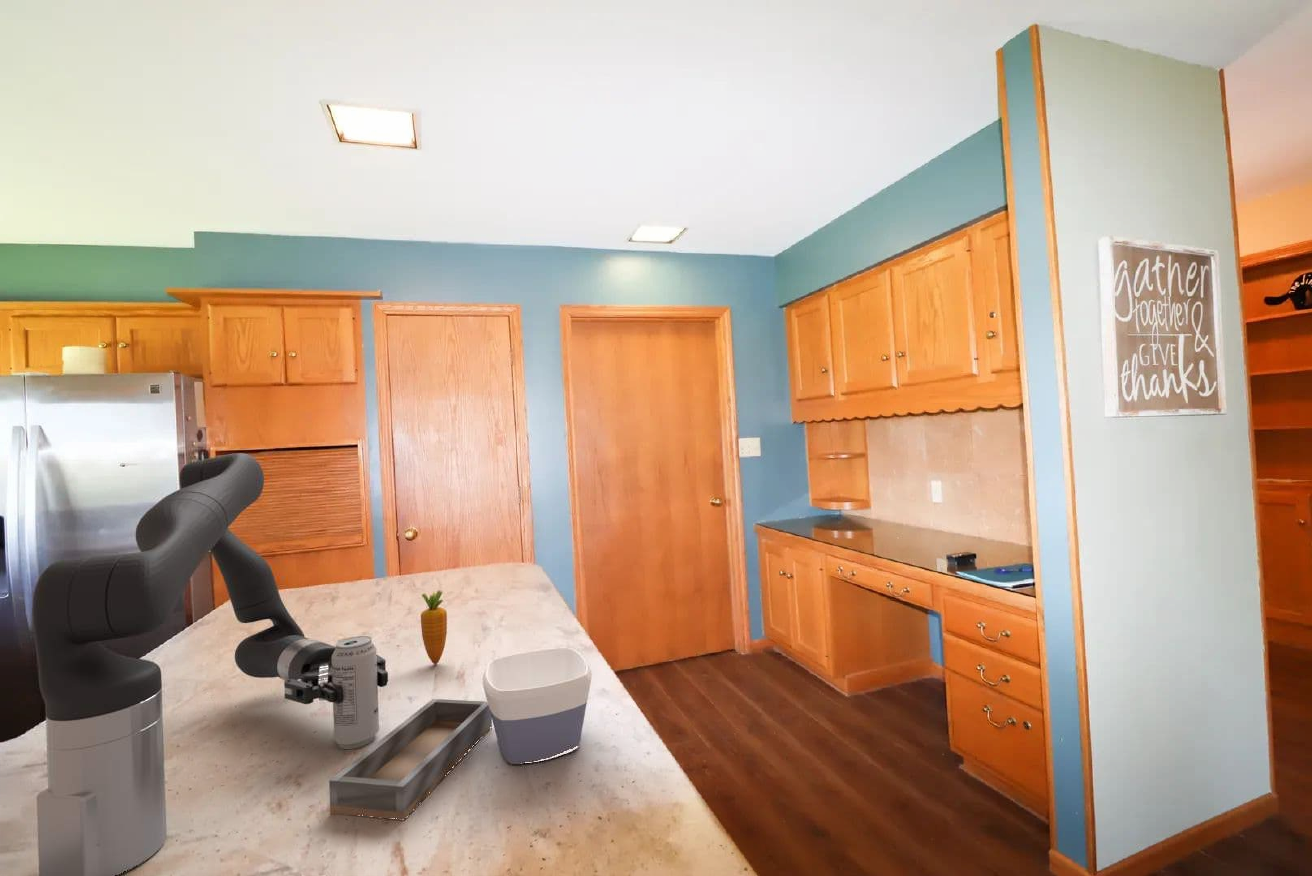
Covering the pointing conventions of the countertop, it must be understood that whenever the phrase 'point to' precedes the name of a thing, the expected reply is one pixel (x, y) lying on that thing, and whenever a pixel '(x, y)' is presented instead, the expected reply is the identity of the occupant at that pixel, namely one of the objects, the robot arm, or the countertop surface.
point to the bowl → (537, 702)
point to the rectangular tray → (409, 760)
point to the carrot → (434, 627)
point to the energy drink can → (355, 692)
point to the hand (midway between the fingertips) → (363, 687)
